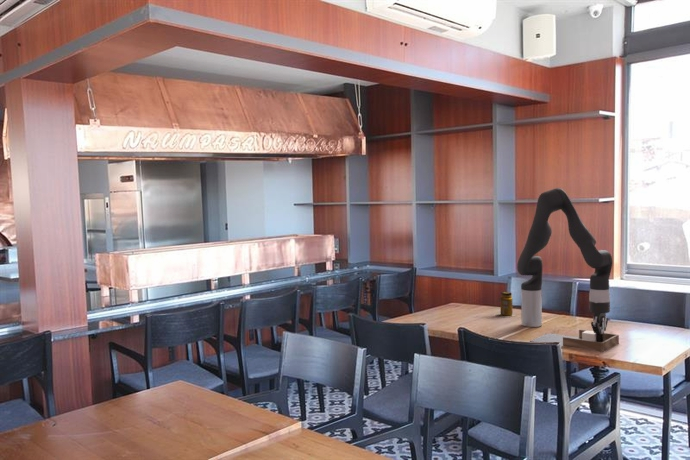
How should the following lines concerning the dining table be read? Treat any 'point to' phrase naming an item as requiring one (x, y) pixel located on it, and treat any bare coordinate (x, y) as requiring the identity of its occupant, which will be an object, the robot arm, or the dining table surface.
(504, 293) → the condiment
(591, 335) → the cream cube
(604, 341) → the tray
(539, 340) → the slate board
